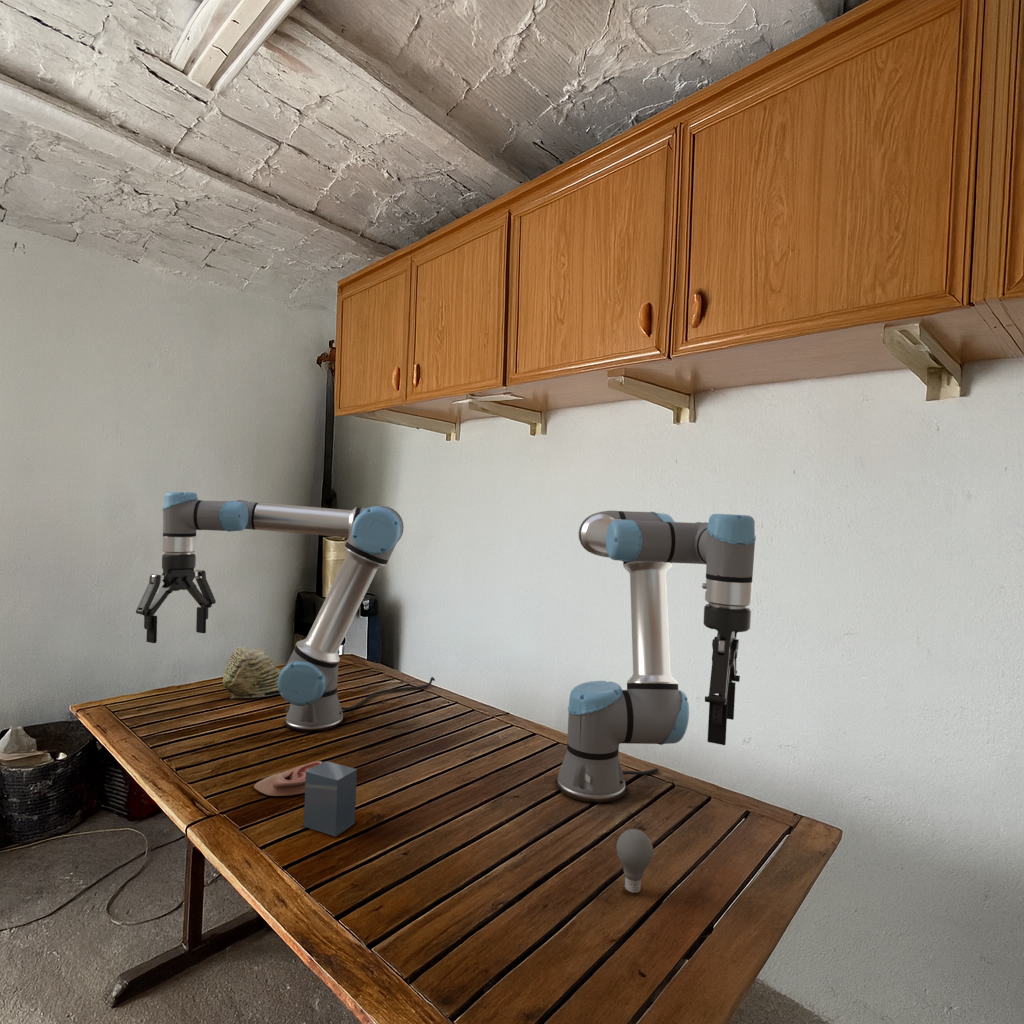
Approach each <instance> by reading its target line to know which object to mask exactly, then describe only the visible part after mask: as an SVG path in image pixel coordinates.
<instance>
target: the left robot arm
mask: <svg viewBox="0 0 1024 1024" xmlns="http://www.w3.org/2000/svg"><path fill="white" fill-rule="evenodd" d="M404 528H405V527H404V522H403V518H402V516H401V515H400V513H398V511H397V510H395V509H394V508H392V507H390V506H385V505H384V506H383V505H374V506H373V505H372V506H370V507H359V506H355V507H354V508H353V509H341V508H330V507H329V508H328V507H319V506H318V507H316V506H306V505H304V506H303V505H292V504H281V503H269V502H257V501H248V500H241V499H239V500H238V499H237V500H202V499H199V497H198V493H196V492H191V491H190V492H188V491H187V492H186V491H167V492H166V493H165V494H164V495H163V506H162V543H161V544H162V546H161V547H162V548H161V549H162V552H163V554H162V555H161V568H162V573H161V574H156V573H155V574H154V573H151V574H150V575H149V581H148V584H147V586H146V589H145V590H144V592H143V594H142V597H141V599H140V601H139V603H138V606H137V608H136V610H135V613H136V614H138V615H142V616H143V618H144V619H143V629H144V630H146V641H145V642H146V643H150V644H156V643H157V641H158V615H155V614H156V613H157V611H158V610H159V608H160V607H161V606H162V604H163V603H164V602H165V601H166V599H167V598H168V596H169V595H170V594H172V593H173V592H179V591H187V592H188V593H189V594H190V596H191V597H192V598H193V599H194V601H195V602H196V603H197V604H198V605H199V606H197V607H196V626H195V628H196V629H195V633H198V634H199V633H200V634H206V633H207V620H208V619H209V609H211V608H212V606H213V605H216V602H217V601H216V598H215V596H214V594H213V592H212V589H211V586H210V584H209V581H208V580H207V574H206V573H207V572H206V570H203V569H195V568H196V566H197V565H196V564H197V563H196V562H197V559H196V558H197V555H196V554H195V552H196V551H197V531H217V532H219V531H221V532H229V533H230V532H241V531H244V530H252V531H253V530H255V531H267V532H278V533H291V534H303V535H315V536H327V537H337V538H347V540H346V542H345V544H344V547H343V548H344V550H345V552H346V556H345V558H344V560H343V562H342V564H341V566H340V568H339V570H338V571H337V574H336V576H335V578H334V581H333V582H332V585H331V587H330V588H329V591H328V593H327V595H326V597H325V598H324V600H323V603H322V605H321V607H320V608H319V611H318V613H317V615H316V618H315V620H314V622H313V624H312V626H311V628H310V629H309V631H308V634H307V636H306V637H305V638H304V639H301V640H298V641H297V642H296V643H295V647H294V649H293V651H292V652H291V654H290V657H289V659H288V661H287V663H286V665H284V666H283V667H282V669H280V674H279V677H278V690H279V692H280V694H279V695H280V696H281V697H282V698H283V700H284V701H286V702H287V703H289V706H286V707H285V712H287V713H286V715H285V726H286V728H287V729H289V730H291V731H294V732H295V731H296V732H301V733H316V732H325V731H329V730H332V729H335V728H337V727H339V726H340V725H342V723H343V722H344V714H343V711H351V710H353V709H355V708H357V707H359V706H361V705H362V704H364V703H366V702H367V701H369V700H370V699H371V698H373V697H374V696H376V695H380V694H384V693H392V692H400V691H409V690H420V689H425V688H426V689H427V688H428V687H430V686H431V685H432V683H433V681H434V682H435V681H436V679H435V678H434V677H433V676H431V677H430V680H429V682H428V683H427V684H425V685H424V684H423V685H417V686H406V687H399V688H398V687H397V688H388V689H383V690H378V691H376V692H372V693H371V694H369V695H368V696H367V697H365V698H364V699H362V700H360V701H359V702H357V703H356V704H353V705H351V706H341V702H340V699H339V695H338V682H339V681H338V680H339V678H338V677H339V663H340V660H341V659H340V656H339V655H340V647H341V644H342V643H343V641H344V639H345V637H346V635H347V633H348V631H349V628H350V626H351V625H352V622H353V621H354V619H355V616H356V614H357V612H358V610H359V608H360V606H361V604H362V602H363V600H364V598H365V595H366V594H367V592H368V590H369V588H370V585H371V583H372V582H373V579H374V578H375V576H376V573H377V571H378V569H380V568H383V567H386V566H387V564H388V562H389V560H390V559H391V556H392V554H393V551H394V550H395V547H396V546H397V544H398V543H399V541H400V540H401V539H402V536H403V533H404ZM194 580H195V581H196V583H197V584H196V583H195V582H194ZM162 582H163V583H162ZM161 583H162V584H161ZM197 585H198V587H197ZM198 588H199V589H198Z"/></svg>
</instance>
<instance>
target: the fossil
mask: <svg viewBox="0 0 1024 1024" xmlns="http://www.w3.org/2000/svg"><path fill="white" fill-rule="evenodd" d="M280 672H281V669H279V668H278V667H277V665H276V663H275V662H274V660H273V659H272V658H271V657H270V656H269V655H268V654H267V653H266V652H265V650H264V649H263V648H260V647H258V648H251V647H247V646H246V647H245V646H238V647H237V648H236V649H235V650H233V651H232V653H231V656H230V657H229V659H228V660H227V663H226V666H225V668H224V671H223V675H222V676H223V677H222V685H223V687H224V688H225V690H226V691H228V693H229V698H230V699H250V698H264V697H271V696H275V695H281V694H280V692H279V690H278V677H279V674H280Z"/></svg>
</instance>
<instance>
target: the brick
mask: <svg viewBox="0 0 1024 1024" xmlns="http://www.w3.org/2000/svg"><path fill="white" fill-rule="evenodd" d="M357 777H358V769H357V768H355V767H350V766H347V765H343V764H339V763H335V762H332V761H327V760H325V761H322V763H321V764H319V765H317V766H315V767H313V768H311V769H309V770H308V771H306V780H305V793H304V806H303V807H304V809H303V811H304V814H303V827H304V828H307V829H310V830H313V831H316V832H320V833H322V834H325V835H328V836H331V837H334V838H337V837H338V836H339V835H341V834H342V833H344V832H345V831H347V830H348V829H350V828H351V827H352V826H354V825H355V823H356V803H357V779H358V778H357Z"/></svg>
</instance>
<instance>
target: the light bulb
mask: <svg viewBox="0 0 1024 1024" xmlns="http://www.w3.org/2000/svg"><path fill="white" fill-rule="evenodd" d="M615 849H616V854H617V857H618V859H619V861H620V863H621V865H622V867H623V873H624V874H623V875H624V876H625V878H624V888H625V890H627V891H628V892H630V893H634V894H635V893H639V892H640V891H641V889H642V887H641V886H642V879H643V877H644V875H645V871H646V868H647V867H648V866H649V864H650V863H651V861H652V859H653V855H654V847H653V843H652V841H651V838H649V836H648V835H647V834H646V833H645V832H643V831H642V830H641V829H636V828H629V829H627V830H625V831H623V832H622V833H621V834H620V835H619V837H618V839H617V841H616V847H615Z"/></svg>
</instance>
